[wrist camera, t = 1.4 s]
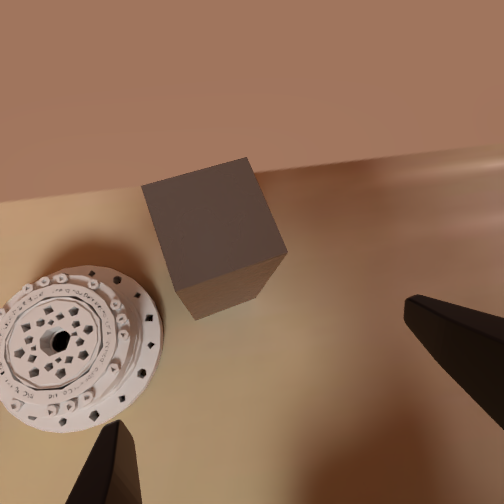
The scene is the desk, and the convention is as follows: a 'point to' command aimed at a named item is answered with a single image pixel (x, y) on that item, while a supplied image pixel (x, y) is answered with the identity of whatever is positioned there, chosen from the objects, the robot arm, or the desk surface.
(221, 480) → the desk surface
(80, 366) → the mechanical component
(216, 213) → the graphite square block
